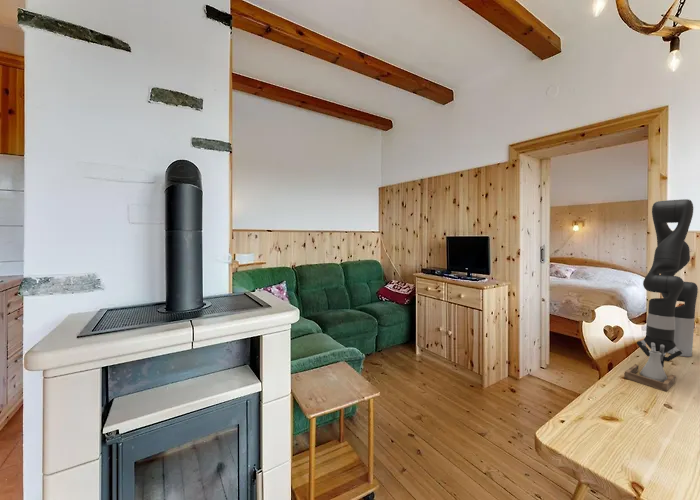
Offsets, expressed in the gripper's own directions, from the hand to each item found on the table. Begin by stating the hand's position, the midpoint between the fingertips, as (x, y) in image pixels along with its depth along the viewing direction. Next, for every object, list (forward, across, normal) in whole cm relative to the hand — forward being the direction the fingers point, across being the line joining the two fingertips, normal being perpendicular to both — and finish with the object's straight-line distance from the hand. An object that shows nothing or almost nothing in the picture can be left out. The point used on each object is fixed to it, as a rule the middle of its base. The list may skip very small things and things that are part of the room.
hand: (657, 368), depth 114 cm
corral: (+2, 0, +10) cm, 10 cm away
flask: (+2, 0, +6) cm, 6 cm away
